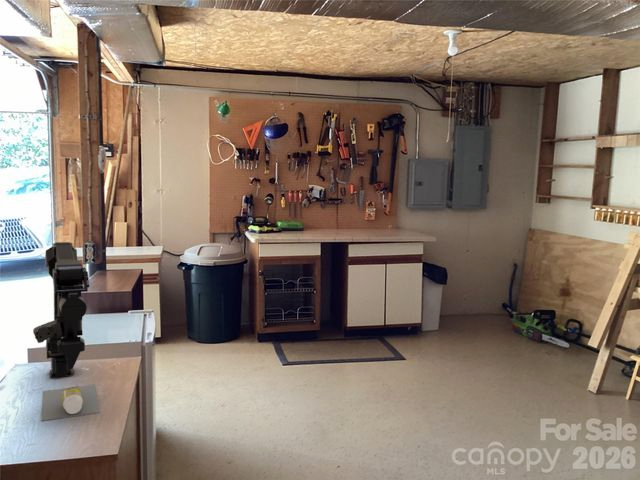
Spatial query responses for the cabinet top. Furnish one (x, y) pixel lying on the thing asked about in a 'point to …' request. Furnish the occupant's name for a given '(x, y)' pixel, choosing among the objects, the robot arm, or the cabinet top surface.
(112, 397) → the cabinet top surface
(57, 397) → the flat gray panel
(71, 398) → the supplement bottle
